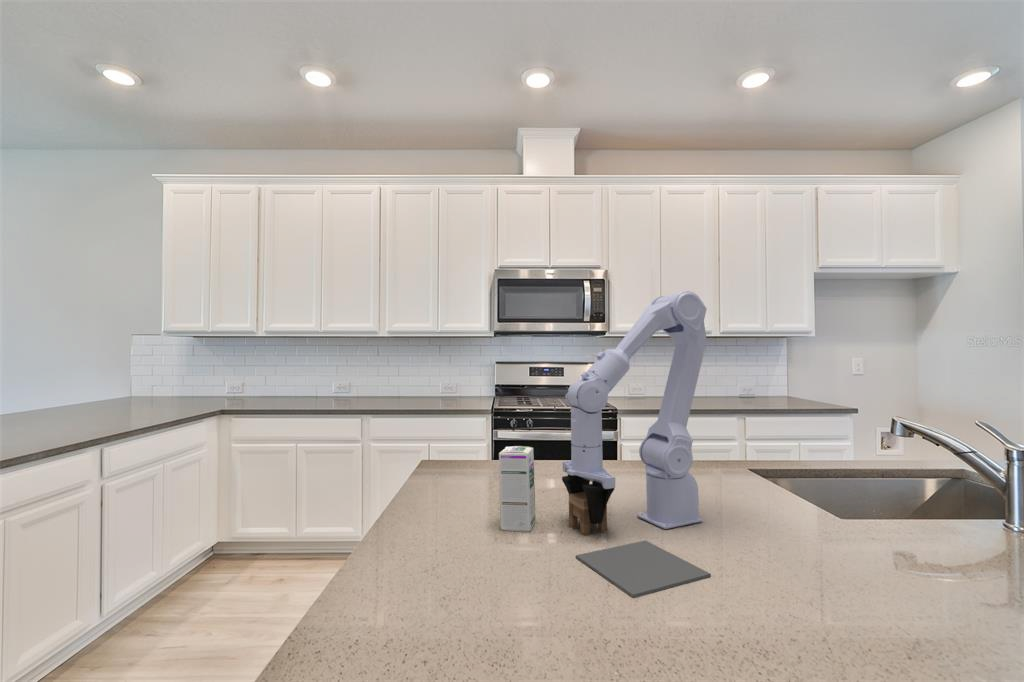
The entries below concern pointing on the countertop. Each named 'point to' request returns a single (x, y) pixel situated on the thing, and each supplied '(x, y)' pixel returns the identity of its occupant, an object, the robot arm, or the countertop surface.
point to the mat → (641, 568)
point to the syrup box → (517, 488)
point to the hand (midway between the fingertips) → (587, 518)
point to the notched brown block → (582, 514)
